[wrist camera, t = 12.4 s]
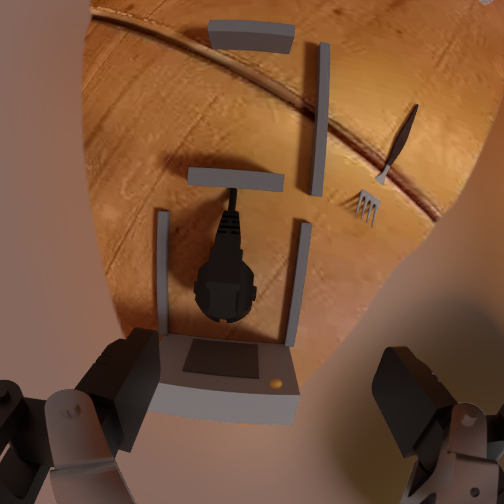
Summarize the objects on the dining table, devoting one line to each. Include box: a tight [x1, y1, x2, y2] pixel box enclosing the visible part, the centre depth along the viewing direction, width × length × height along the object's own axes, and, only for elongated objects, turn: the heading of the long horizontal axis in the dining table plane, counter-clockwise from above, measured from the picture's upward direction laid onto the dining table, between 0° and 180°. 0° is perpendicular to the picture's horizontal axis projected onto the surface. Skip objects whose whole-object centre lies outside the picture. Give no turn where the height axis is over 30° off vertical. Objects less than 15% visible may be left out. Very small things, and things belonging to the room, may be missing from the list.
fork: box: [355, 104, 418, 227], centre depth 26 cm, size 3×16×2 cm, turn 150°
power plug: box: [194, 188, 257, 323], centre depth 27 cm, size 6×8×12 cm
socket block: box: [148, 211, 312, 425], centre depth 25 cm, size 18×15×9 cm
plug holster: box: [187, 20, 330, 197], centre depth 23 cm, size 17×12×4 cm
